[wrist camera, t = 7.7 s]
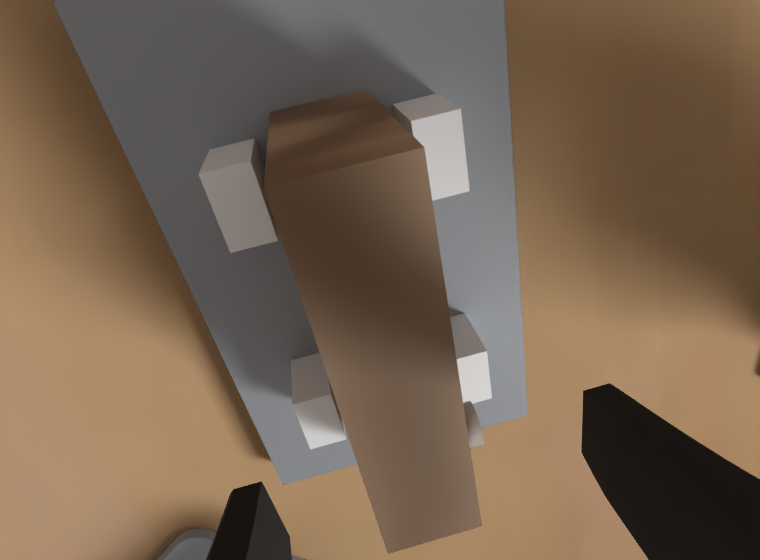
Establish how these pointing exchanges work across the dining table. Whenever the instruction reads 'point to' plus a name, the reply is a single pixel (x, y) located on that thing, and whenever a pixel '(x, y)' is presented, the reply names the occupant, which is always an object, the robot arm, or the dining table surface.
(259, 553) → the robot arm
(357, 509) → the dining table surface
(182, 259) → the hinge board
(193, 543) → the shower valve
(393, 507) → the cabinet door
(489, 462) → the dining table surface
